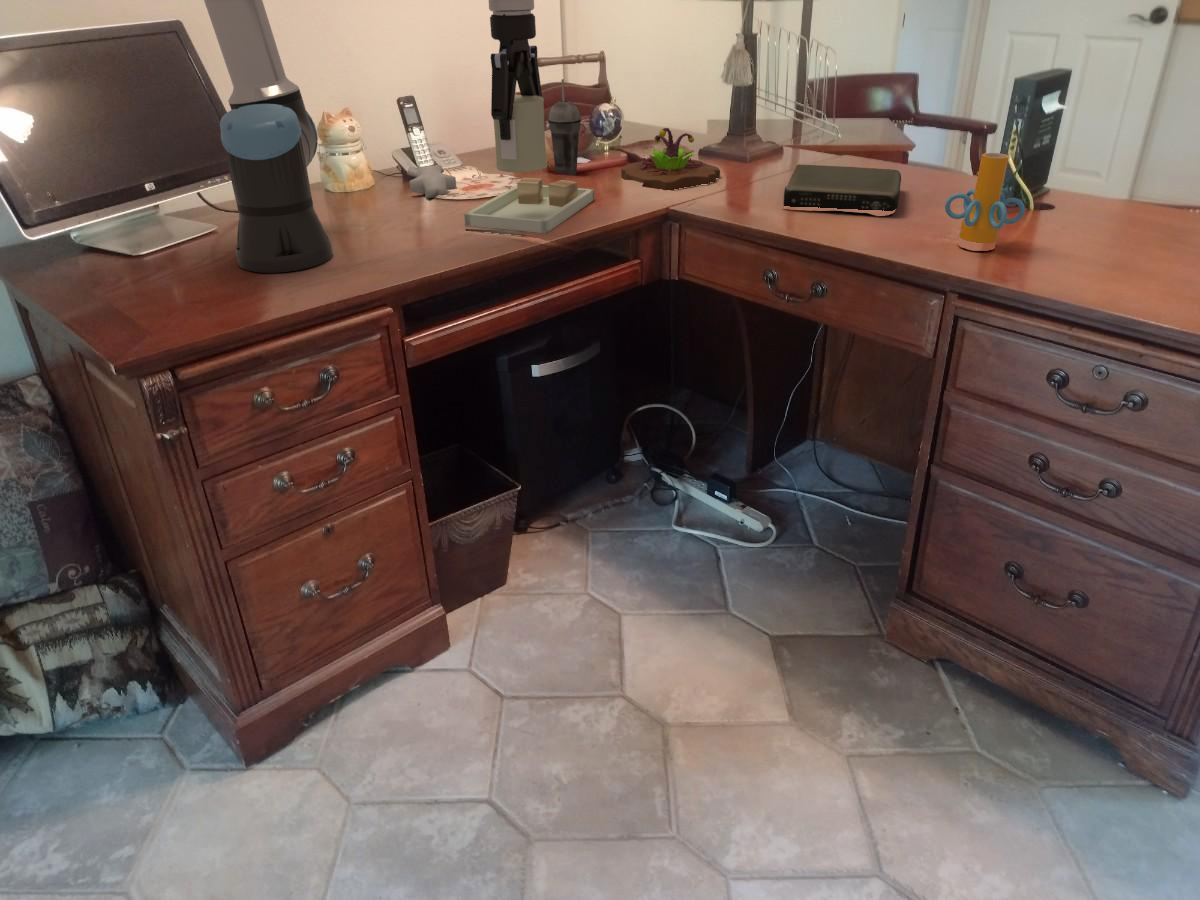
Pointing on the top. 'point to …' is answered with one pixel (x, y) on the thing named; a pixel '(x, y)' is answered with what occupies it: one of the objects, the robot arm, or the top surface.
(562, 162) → the beverage cup
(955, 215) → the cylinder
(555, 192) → the block
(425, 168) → the grey lobed piece
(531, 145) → the can
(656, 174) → the plant
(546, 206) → the tray
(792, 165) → the top surface
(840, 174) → the network switch
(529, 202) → the block
